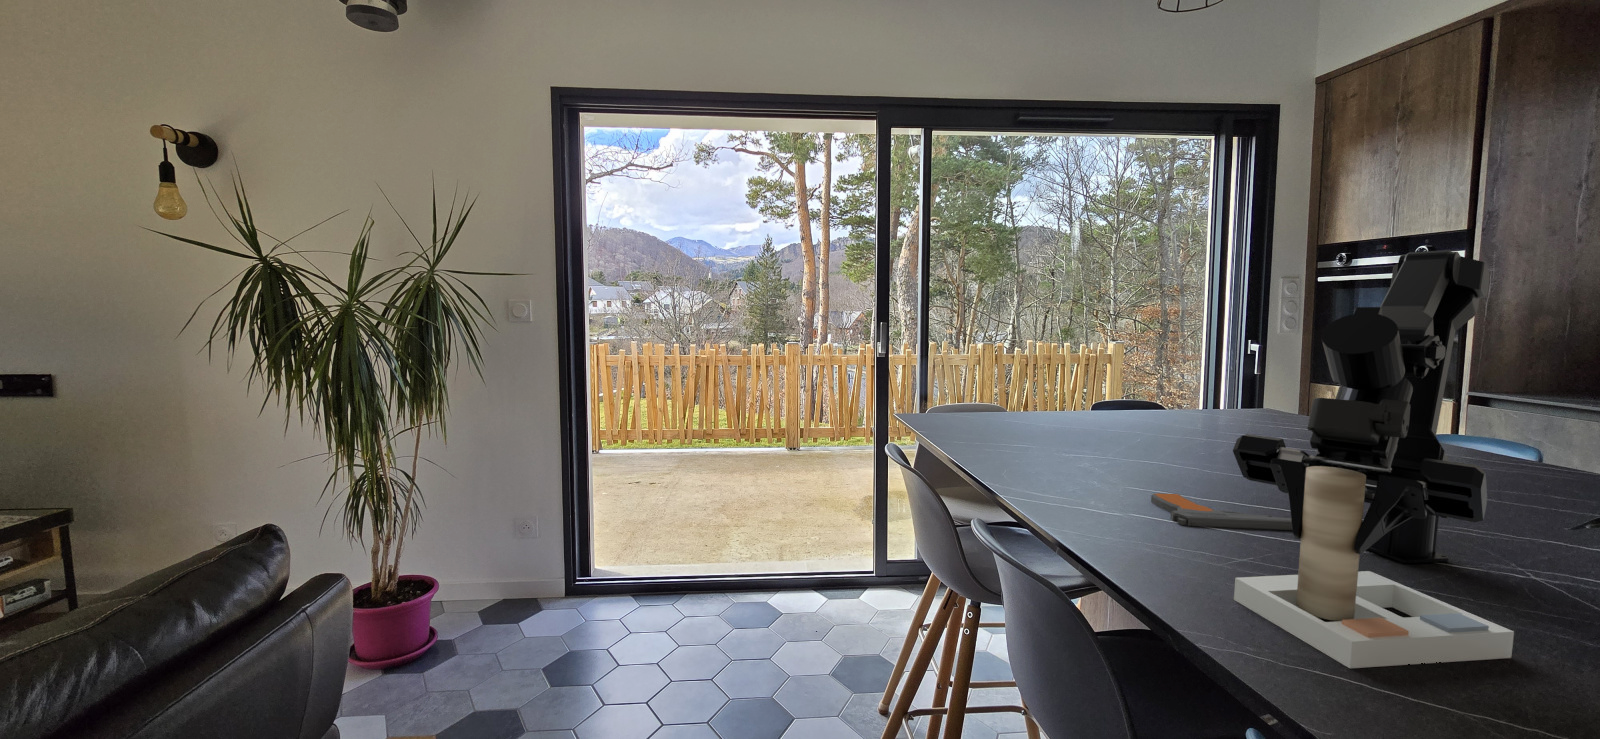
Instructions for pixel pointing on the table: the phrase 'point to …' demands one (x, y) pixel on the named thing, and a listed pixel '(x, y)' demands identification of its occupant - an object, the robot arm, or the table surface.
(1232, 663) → the table surface
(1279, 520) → the orange-tipped hinged bar
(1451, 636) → the socket board
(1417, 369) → the robot arm
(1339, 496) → the plug
